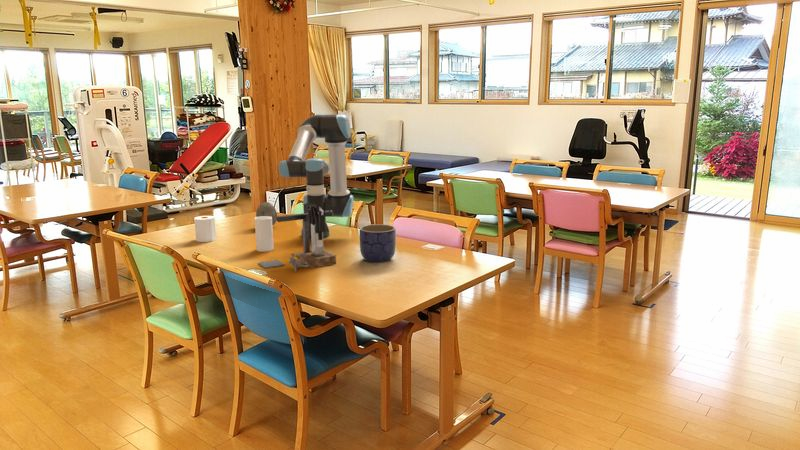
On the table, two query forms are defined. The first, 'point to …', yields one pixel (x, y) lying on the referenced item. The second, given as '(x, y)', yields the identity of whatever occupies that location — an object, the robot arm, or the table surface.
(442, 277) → the table surface
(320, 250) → the peg
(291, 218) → the dark grey bar
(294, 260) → the elephant figurine
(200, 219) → the toilet paper
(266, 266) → the mat
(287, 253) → the table surface
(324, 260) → the eye block
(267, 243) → the cup
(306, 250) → the handle post
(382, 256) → the planter
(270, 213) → the decorative egg
